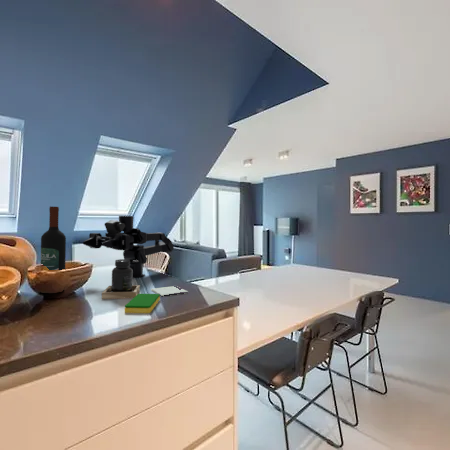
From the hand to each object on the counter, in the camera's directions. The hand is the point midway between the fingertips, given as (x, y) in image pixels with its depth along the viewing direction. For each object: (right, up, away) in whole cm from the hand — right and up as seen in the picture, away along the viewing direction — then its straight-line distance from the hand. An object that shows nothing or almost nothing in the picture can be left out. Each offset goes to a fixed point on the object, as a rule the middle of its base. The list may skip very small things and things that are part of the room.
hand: (92, 243), depth 108 cm
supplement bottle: (+14, -17, -9) cm, 24 cm away
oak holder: (+14, -17, -9) cm, 24 cm away
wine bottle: (-11, -17, -7) cm, 21 cm away
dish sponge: (+25, -18, -21) cm, 38 cm away
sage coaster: (+30, -17, -4) cm, 35 cm away
